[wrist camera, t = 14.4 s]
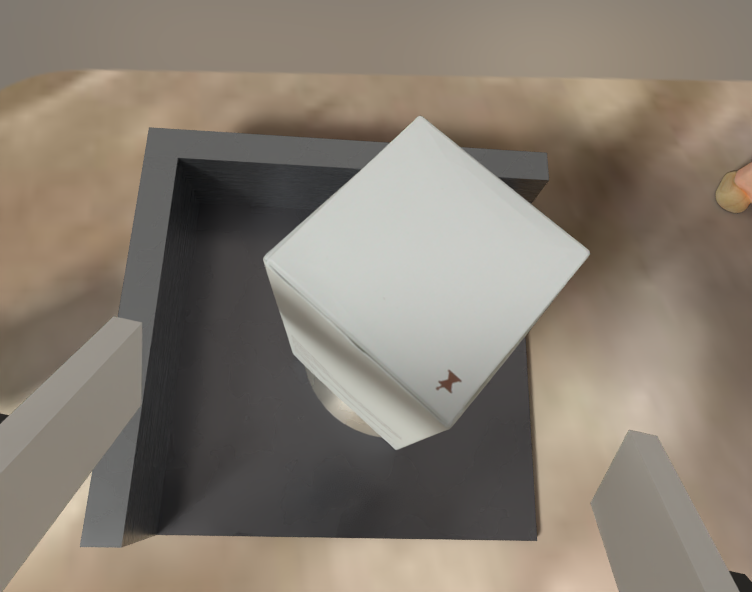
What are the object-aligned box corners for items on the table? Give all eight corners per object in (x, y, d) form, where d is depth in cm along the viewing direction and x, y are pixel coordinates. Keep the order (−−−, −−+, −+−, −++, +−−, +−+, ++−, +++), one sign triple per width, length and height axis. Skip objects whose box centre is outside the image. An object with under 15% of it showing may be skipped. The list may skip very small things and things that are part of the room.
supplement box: (491, 345, 29) (604, 255, 17) (395, 454, 27) (447, 439, 15) (385, 251, 30) (422, 105, 18) (286, 350, 28) (254, 259, 16)
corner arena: (515, 199, 32) (546, 152, 28) (534, 539, 27) (577, 553, 22) (176, 180, 31) (149, 127, 26) (126, 533, 26) (79, 546, 21)
